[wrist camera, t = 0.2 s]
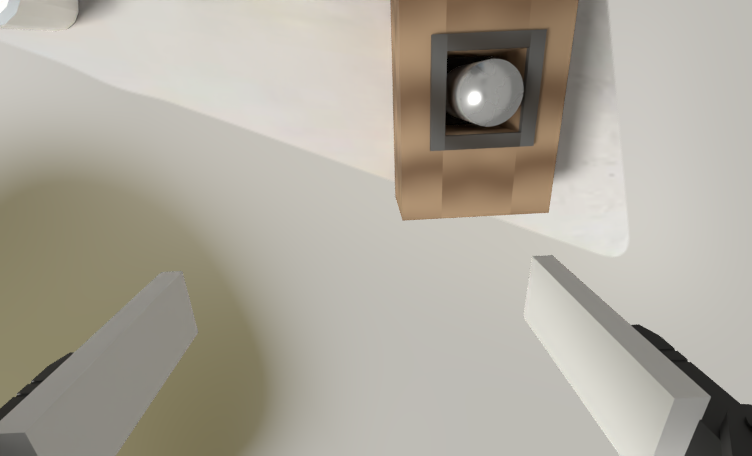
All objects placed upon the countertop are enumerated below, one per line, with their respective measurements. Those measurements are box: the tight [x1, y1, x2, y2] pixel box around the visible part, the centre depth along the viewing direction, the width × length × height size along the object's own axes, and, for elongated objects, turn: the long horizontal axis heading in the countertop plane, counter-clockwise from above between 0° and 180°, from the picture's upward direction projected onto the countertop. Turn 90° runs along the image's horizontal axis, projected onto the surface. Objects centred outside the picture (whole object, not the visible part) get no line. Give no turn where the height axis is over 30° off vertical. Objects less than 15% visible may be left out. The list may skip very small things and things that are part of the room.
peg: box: [446, 59, 524, 127], centre depth 32 cm, size 5×5×8 cm
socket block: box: [391, 0, 579, 220], centre depth 33 cm, size 22×14×9 cm, turn 3°
